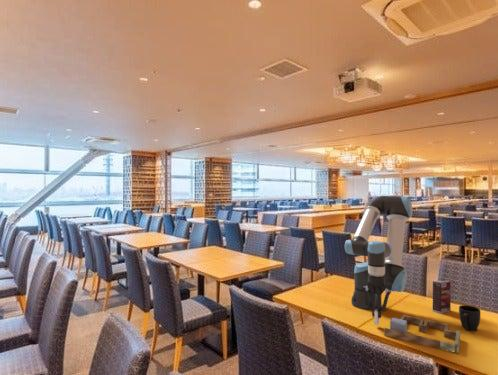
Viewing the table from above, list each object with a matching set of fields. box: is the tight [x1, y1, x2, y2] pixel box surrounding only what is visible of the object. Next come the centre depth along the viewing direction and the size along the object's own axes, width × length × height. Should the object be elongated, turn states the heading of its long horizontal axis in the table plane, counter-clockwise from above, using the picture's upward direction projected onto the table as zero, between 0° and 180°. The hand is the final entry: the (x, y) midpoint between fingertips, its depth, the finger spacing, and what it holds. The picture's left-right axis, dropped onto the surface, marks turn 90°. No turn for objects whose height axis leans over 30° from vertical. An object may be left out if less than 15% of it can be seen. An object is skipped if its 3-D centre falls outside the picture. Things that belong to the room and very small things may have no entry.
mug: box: [458, 304, 481, 332], centre depth 148 cm, size 8×12×10 cm
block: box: [389, 317, 408, 333], centre depth 146 cm, size 6×6×5 cm
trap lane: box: [383, 314, 461, 354], centre depth 144 cm, size 28×21×4 cm
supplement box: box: [432, 279, 452, 314], centre depth 170 cm, size 9×5×16 cm, turn 116°
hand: (376, 323), depth 152 cm, fingers closed
